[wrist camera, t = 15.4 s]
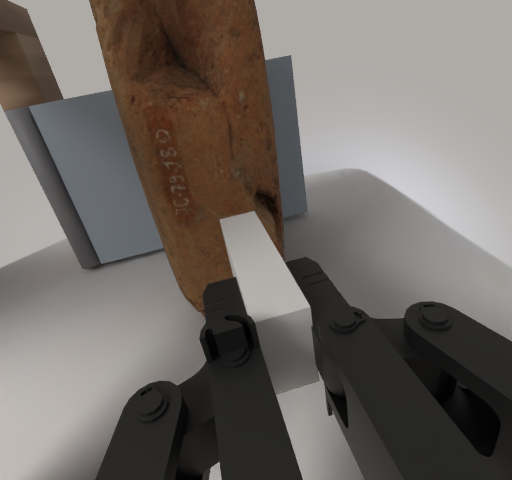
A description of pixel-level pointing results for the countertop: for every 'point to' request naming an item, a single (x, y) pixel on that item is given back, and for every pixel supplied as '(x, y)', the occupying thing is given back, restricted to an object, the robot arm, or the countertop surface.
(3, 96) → the door frame
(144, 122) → the brown elongated rounded part
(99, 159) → the door
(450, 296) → the countertop surface
